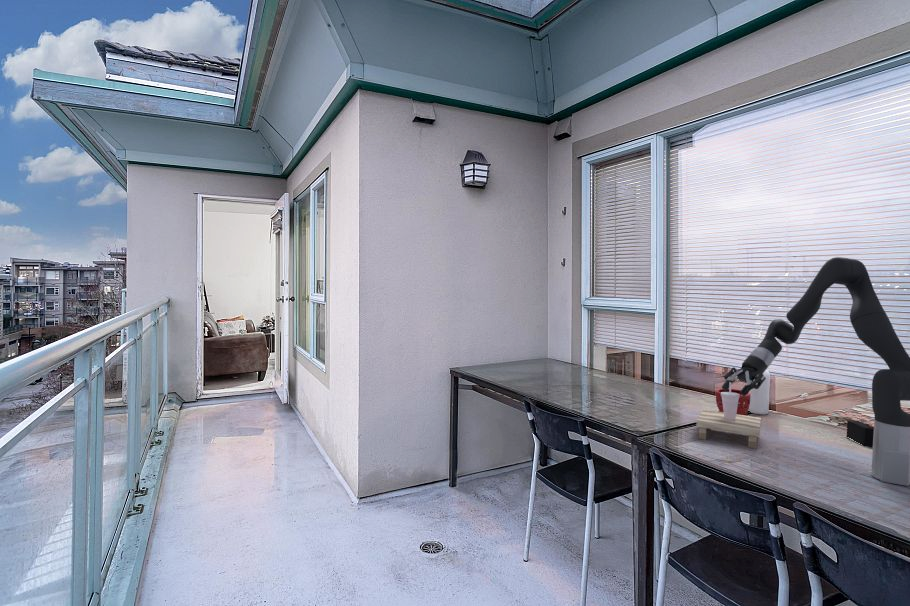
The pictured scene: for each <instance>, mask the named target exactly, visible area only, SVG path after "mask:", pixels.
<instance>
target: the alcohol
mask: <svg viewBox="0 0 910 606" xmlns="http://www.w3.org/2000/svg"><path fill="white" fill-rule="evenodd" d="M757 347H758V346H756V347H755V348H754V350H755V349H756V348H757ZM770 373H771V372H769V370H768V368H767V369H766V370H765V372H764V373H763V375H764V376H765V378H766V379H765V380H764V382H763V383H762V384H761V386H760V387H759V388H758V389H755V388H753V389H751V390H750V391H749V393H750V405H749V409H748V411H750V412H751V414H756V415H760V416H761V415H768V413H769V412H770V410H769V409H770V388H771V387H770V386H771V374H770ZM756 385H757V384H756ZM748 411H747V412H748ZM750 412H749V413H750Z"/></svg>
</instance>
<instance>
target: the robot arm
mask: <svg viewBox="0 0 910 606" xmlns="http://www.w3.org/2000/svg"><path fill="white" fill-rule="evenodd" d="M834 284H835V285H840V286H841V285H843V286H845V288H846V289H847V290H848V292H849V294H850V297H851V300H852V305H851V308H850V311H849V312H850V313H849V320H850V324H851V325H852V327H853V330H854V332H855V335H856V336H857V338H858V339H859V341H861V342H862V343H863V344H864V345H865V346H867V348H869V349H870V350H871V351H873V352H874V354H875V353H876V354H877V355H878V356H879V357H880V358H881V359H882V360H883V361H884V362H885V364H886V365H887V367H888V368H883V369H879V370H878V371H876V372H875V374H874V375H873V377H872V382H871V401H872V402H871V406H872V411H873V414H874V420H873V421H874V423H873V427H874V436H873V447H872V452H871V453H872V456H871V457H872V458H871V459H872V460H871V472H870V473H871V474H870V475H871V476H872V477H873V478H875V479H876V480H879V481H880V482H884V483H890V484H894V485H900V486H906V487H909V486H910V413H909V412H906V411H905V410H903V408H902V405H901V404H902V403H901V401H902V402H903V401H905V402H910V355H909V354H908V352H907V350H906V349H905V347H904V345H903V344H902V342H901V340H900V338H899V337H898V335H897V333H896V331H895V329H894V327H893V325H892V322H891V321H890V318H889V317H888V314H887V313H886V312H885V310H884V307H883V306H882V304H881V301H880V300H879V298H878V296H877V293H876V292H875V288H874V286H873V283H872V281H871V278H870V275H869V272H868V270H867V268H866V265H865V264H864V263H863V262H862V261H860V260H858V259H854V258H848V257H841V256H834V257H831V258H829V259H828V260H826V261H825V263H823V265H822V267H820V269H819V271H818V272H817V273H816V275H815V277H814V278H813V279H812V282H811V283H810V284H809V286H808V288H807V289H806V291H805V292H804V293H803V295H802V297H801V298H800V299H798V301H797V302H796V303H795V304H794V305H793V307H792V306H791V309H790V310H789V311H788V312H787V313H786V315H785V316H786V319H787V320H788V322H786V321H785V320H784V319H781V318H776V319H773V320H771V322H770V323H769V326H768V327H767V330H766V333H765V335H764V337H763V339H762V340H761V342H760V343H759V344H758V345H757V346H756V347H757V348H756V347H755V348H756V349H755V348H754V350H752V351H751V353H750V354H749V355H748V356H747V357H746V358H745V359H744V361H743V362H742V363H741V368H739V369H736V367H735V366H734V367H731V369H730V370H729V371H728V372H727V373H726V374H725V375H724V376H723V378H724V380H725V381H724V383H723V384H722V386H721V389H723V390H724V391H727V390H728V389H729V382H731V386H732V385H733V384H735V383H740V382H743V383H746V384H745V385H744V386H743V388H741V389H740V390H741V391H740V393H741V395H742V396H745V395H746V394H748V392H749V391H750V390H751V389H753V388H755V389H758V388H759V387H760V386H761V384H762V383H763V382H764V380H765V379H766V378H765V376H764V375H763V373H764V372H765V370H766V369H767V370H768V369H769V367H770V366H771V365H772V363H773V361H774V360H775V359H776V357H777V356H778V355H779V354H780V353H781V351H782V349H783V346H782V344H781V343H783V344H786V345H792V344H794V343H796V342H797V341H798V340H799V337H800V335H801V333H802V331H803V329H804V328H805V326H806V325H807V323H808V322H809V321H811V320H812V318H813V317H814V316H815V315H816V314H817V313H818V311H819V310H820V308H821V304H822V299H823V295H824V293H825V292H826V291H827V290H828V289H829V288H830V287H832V286H833V285H834ZM790 323H791V324H790ZM778 340H779V341H780V342H781V343H780V342H779V341H778ZM756 384H757V385H756Z"/></svg>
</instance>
